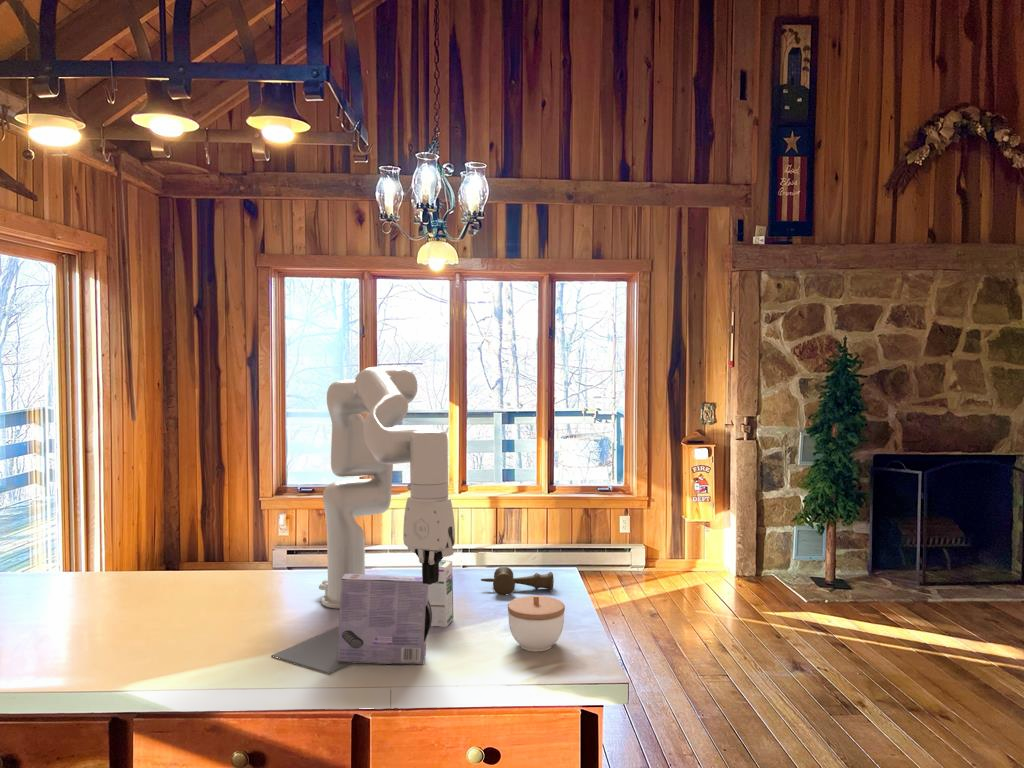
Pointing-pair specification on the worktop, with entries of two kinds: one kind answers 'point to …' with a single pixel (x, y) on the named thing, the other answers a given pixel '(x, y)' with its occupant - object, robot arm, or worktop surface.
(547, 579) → the kendama
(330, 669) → the rubber mat
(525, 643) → the lidded bowl
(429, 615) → the cake pan box
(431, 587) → the syrup box
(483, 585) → the worktop surface
